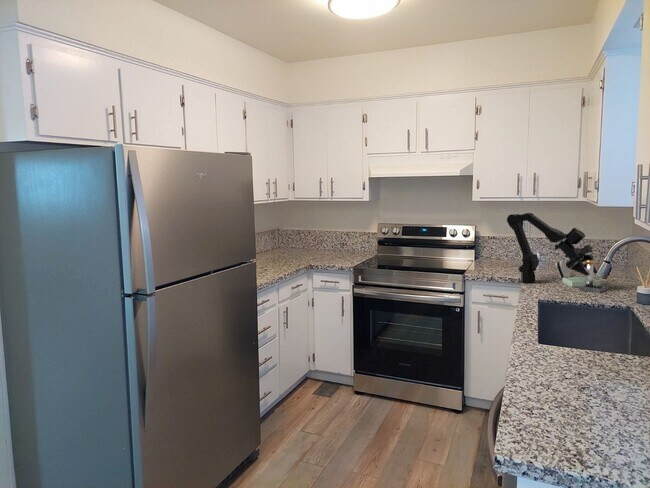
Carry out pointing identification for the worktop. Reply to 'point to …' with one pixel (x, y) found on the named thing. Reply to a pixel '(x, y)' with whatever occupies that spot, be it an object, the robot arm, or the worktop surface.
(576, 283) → the parts tray
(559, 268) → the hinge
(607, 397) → the worktop surface
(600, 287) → the tensioner block
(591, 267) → the lock pin
